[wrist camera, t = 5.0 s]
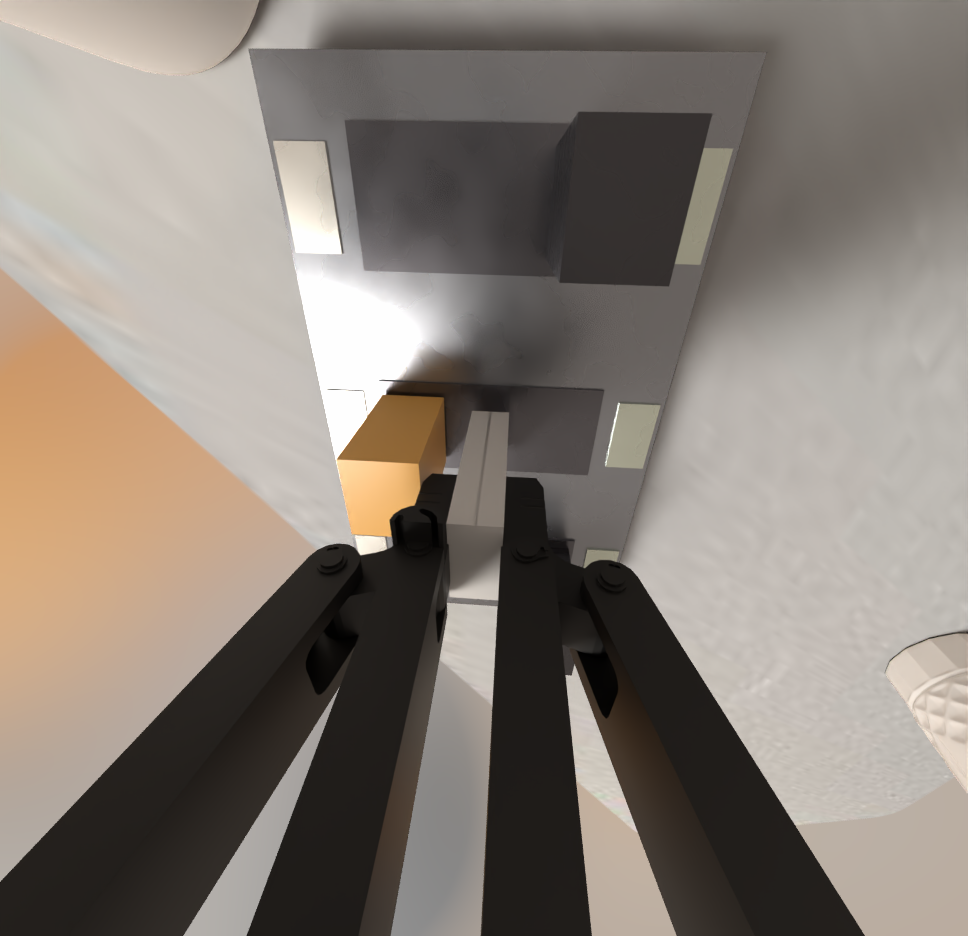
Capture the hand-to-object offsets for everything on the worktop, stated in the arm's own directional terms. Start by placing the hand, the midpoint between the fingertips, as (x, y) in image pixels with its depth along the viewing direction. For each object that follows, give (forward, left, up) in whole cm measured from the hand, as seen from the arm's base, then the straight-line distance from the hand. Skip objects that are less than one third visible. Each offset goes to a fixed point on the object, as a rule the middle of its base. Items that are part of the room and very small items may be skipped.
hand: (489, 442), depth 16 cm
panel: (0, 0, -4) cm, 4 cm away
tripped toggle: (0, -3, -1) cm, 3 cm away
